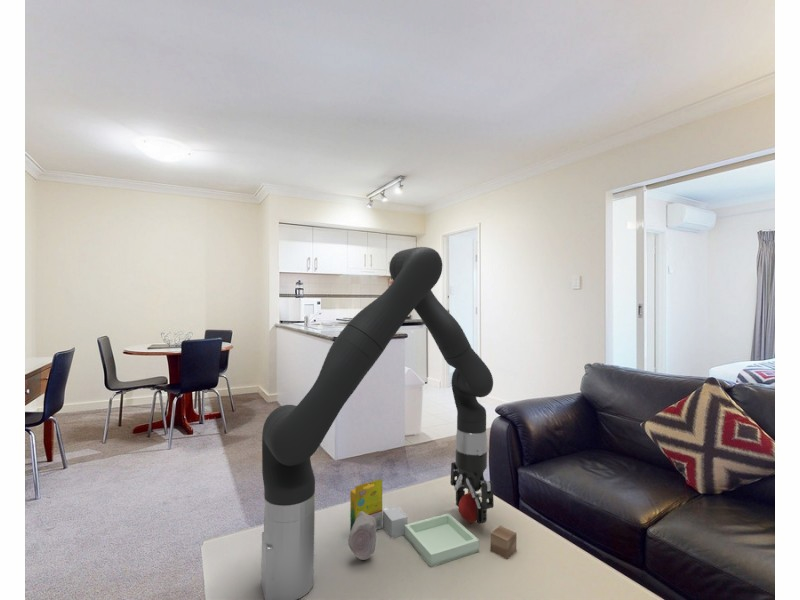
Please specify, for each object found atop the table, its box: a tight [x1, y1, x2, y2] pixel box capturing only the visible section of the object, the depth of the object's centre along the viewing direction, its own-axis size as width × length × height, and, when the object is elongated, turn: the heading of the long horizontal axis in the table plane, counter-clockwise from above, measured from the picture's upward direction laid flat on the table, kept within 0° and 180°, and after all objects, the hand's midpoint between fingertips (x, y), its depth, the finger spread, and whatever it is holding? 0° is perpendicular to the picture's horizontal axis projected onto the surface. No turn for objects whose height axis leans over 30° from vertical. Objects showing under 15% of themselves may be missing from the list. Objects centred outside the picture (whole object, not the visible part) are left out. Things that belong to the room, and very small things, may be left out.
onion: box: [457, 489, 482, 525], centre depth 97 cm, size 6×6×8 cm
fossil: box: [347, 511, 377, 561], centre depth 83 cm, size 6×4×10 cm, turn 105°
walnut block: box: [489, 525, 517, 560], centre depth 87 cm, size 4×4×4 cm
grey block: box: [382, 506, 408, 539], centre depth 94 cm, size 4×5×4 cm
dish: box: [403, 513, 480, 568], centre depth 89 cm, size 12×12×2 cm
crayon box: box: [349, 478, 383, 532], centre depth 94 cm, size 7×3×12 cm, turn 123°
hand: (470, 514), depth 97 cm, fingers open, 8 cm apart
